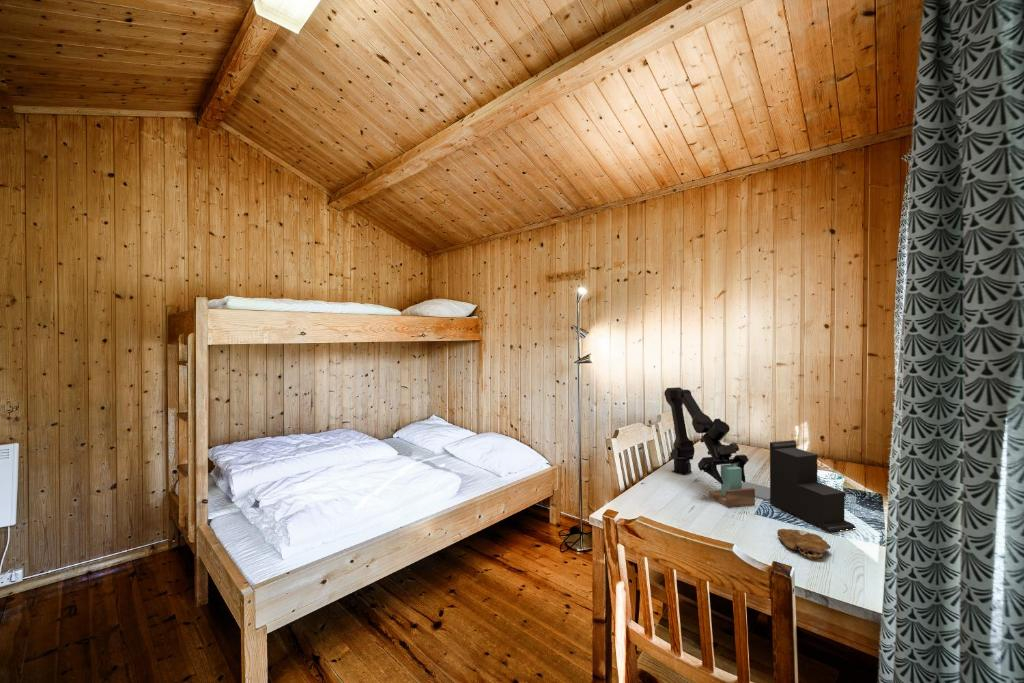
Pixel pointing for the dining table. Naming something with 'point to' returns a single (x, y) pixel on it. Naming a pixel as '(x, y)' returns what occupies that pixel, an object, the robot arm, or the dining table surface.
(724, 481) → the teal block
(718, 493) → the walnut ledge
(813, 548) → the decorative rock
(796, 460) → the bookend
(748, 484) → the slate mat
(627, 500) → the dining table surface
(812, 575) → the dining table surface
